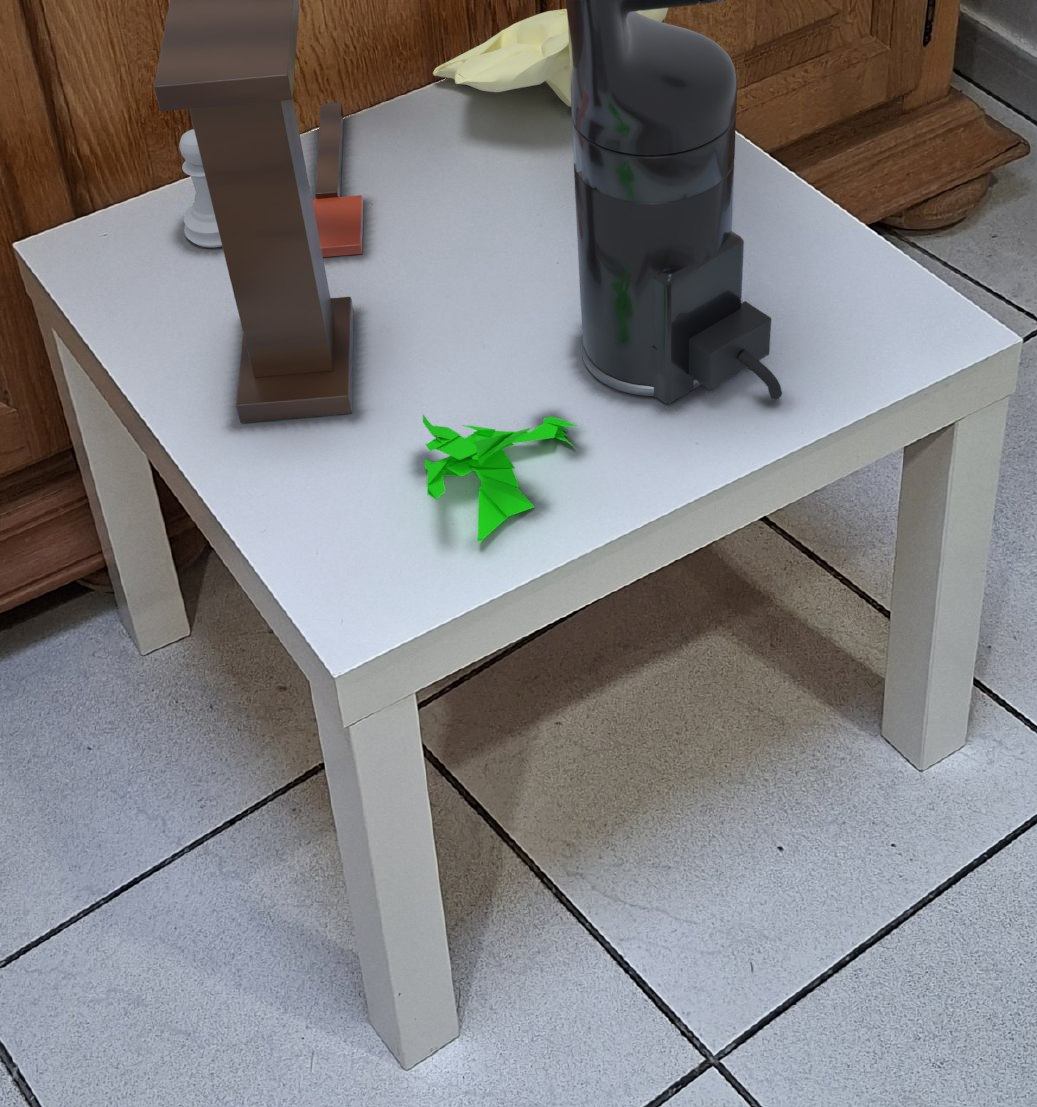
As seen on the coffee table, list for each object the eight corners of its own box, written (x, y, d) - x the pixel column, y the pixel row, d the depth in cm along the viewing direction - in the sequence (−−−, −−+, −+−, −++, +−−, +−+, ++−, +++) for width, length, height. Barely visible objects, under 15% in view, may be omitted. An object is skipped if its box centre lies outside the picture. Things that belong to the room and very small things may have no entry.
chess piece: (196, 208, 118) (171, 111, 112) (258, 211, 117) (237, 113, 112) (176, 248, 115) (150, 149, 109) (241, 250, 114) (218, 152, 108)
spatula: (300, 119, 125) (298, 105, 125) (365, 113, 125) (363, 99, 124) (290, 260, 113) (287, 246, 112) (362, 254, 113) (359, 239, 112)
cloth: (427, 57, 131) (455, 129, 134) (438, 97, 114) (470, 179, 117) (687, -50, 130) (710, 25, 132) (737, -24, 113) (763, 61, 116)
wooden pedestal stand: (249, 322, 109) (170, -8, 91) (354, 313, 108) (295, -19, 91) (240, 423, 102) (153, 86, 85) (351, 414, 102) (287, 74, 84)
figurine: (435, 459, 102) (581, 464, 101) (401, 547, 92) (564, 554, 91) (431, 366, 99) (581, 370, 98) (396, 446, 89) (564, 452, 88)
